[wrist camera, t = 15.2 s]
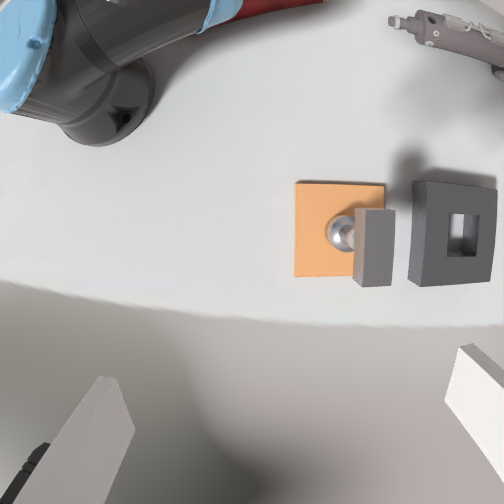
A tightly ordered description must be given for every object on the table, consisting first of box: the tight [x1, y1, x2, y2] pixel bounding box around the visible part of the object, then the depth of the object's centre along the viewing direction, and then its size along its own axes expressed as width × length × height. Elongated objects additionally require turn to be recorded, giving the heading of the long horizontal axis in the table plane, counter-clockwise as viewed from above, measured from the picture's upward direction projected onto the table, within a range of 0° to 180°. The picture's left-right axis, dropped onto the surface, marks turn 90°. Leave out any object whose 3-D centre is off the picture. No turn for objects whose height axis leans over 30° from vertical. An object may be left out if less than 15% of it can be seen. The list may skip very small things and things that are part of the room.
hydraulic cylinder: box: [388, 10, 504, 81], centre depth 29 cm, size 7×37×10 cm, turn 89°
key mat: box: [294, 184, 384, 277], centre depth 39 cm, size 12×12×1 cm
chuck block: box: [408, 181, 497, 287], centre depth 38 cm, size 14×14×4 cm
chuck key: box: [325, 208, 395, 287], centre depth 33 cm, size 7×4×13 cm, turn 1°
